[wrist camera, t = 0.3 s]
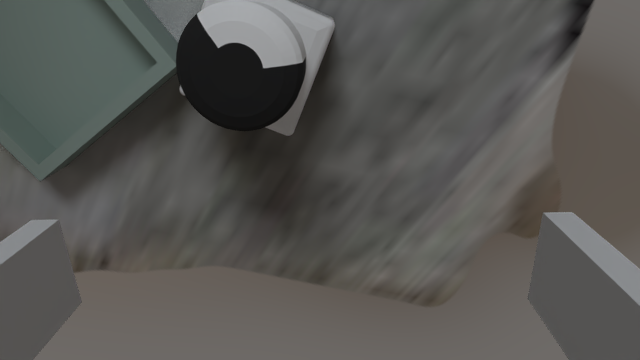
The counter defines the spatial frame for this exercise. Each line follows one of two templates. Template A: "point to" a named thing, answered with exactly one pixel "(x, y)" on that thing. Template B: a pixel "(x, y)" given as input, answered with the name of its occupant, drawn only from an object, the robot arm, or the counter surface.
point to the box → (75, 73)
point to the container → (252, 61)
